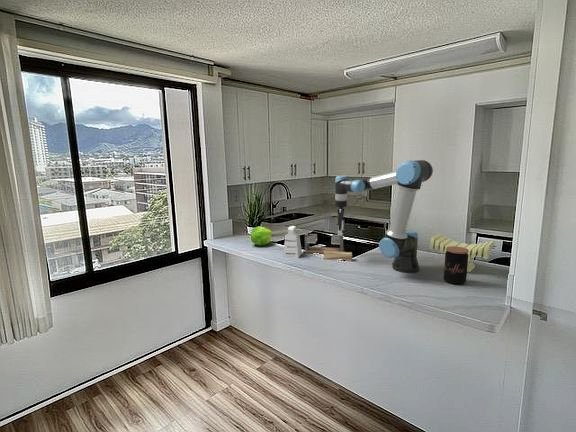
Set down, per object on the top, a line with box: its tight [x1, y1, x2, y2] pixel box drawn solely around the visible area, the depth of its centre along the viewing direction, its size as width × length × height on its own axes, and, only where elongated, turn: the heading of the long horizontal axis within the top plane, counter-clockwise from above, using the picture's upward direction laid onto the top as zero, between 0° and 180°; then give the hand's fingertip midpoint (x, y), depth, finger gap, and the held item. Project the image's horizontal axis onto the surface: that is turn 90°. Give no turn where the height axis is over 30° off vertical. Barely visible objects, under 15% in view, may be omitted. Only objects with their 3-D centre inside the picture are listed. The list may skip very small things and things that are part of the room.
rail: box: [323, 251, 353, 262], centre depth 211 cm, size 4×18×5 cm, turn 73°
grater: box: [282, 225, 303, 259], centre depth 219 cm, size 10×10×20 cm
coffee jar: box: [443, 246, 469, 286], centre depth 169 cm, size 11×11×18 cm
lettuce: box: [250, 225, 273, 246], centre depth 248 cm, size 15×20×14 cm
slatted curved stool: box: [429, 231, 496, 273], centre depth 189 cm, size 30×16×18 cm, turn 47°
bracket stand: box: [303, 231, 345, 255], centre depth 227 cm, size 13×27×13 cm, turn 76°
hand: (340, 232), depth 210 cm, fingers open, 13 cm apart
